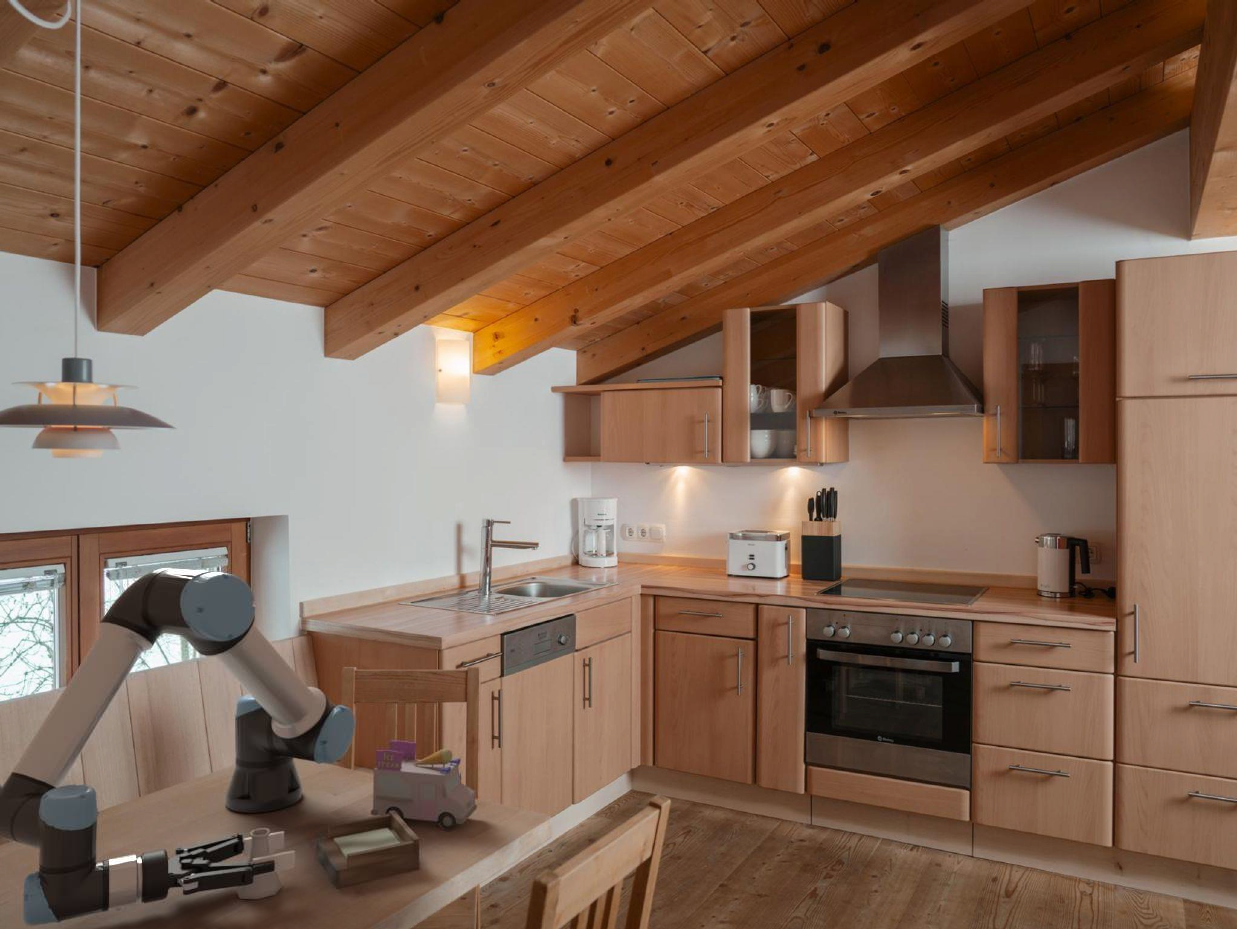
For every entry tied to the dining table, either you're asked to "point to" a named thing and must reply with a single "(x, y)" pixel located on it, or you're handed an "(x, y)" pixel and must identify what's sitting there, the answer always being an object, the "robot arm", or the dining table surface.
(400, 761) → the toy vehicle
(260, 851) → the flask
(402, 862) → the dock
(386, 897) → the dining table surface
